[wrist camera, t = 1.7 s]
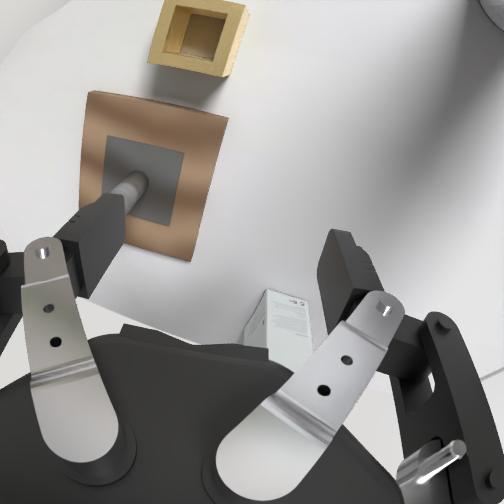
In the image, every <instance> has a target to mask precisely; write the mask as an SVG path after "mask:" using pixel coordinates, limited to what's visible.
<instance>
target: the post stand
mask: <svg viewBox="0 0 504 504" xmlns="http://www.w3.org/2000/svg"><path fill="white" fill-rule="evenodd" d="M228 119H229V118H227V117H223V116H219V115H215V114H211V113H207V112H203V111H199V110H195V109H191V108H187V107H182V106H178V105H173V104H168V103H164V102H159V101H154V100H149V99H143V98H138V97H132V96H127V95H120V94H114V93H108V92H101V91H91V92H88V96H87V103H86V111H85V119H84V128H83V138H82V150H81V164H80V186H79V210H80V209H81V208H82V207H84V206H86V205H88V204H90V203H94V202H95V201H96V200H97V199H98V198H99V197H100V196H101V195H102V194H103V193H105V192H106V193H114V194H122V195H123V196H124V200H125V228H126V232H125V239H124V242H123V243H127V244H130V245H133V246H137V247H140V248H144V249H147V250H151V251H154V252H158V253H161V254H165V255H168V256H172V257H175V258H179V259H182V260H186V261H189V262H191V259H192V256H193V252H194V248H195V244H196V240H197V235H198V231H199V227H200V223H201V219H202V215H203V211H204V207H205V203H206V199H207V195H208V191H209V187H210V184H211V180H212V176H213V172H214V169H215V165H216V161H217V157H218V154H219V150H220V147H221V143H222V140H223V136H224V133H225V129H226V126H227V122H228Z"/></svg>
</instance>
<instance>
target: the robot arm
mask: <svg viewBox="0 0 504 504" xmlns="http://www.w3.org/2000/svg"><path fill="white" fill-rule="evenodd" d="M479 1H480V3H481V5H482V7H483V9H484V10H485V12H486V14H487V15H488V16H489V18H490V19H491V20H492V21H493V22H494V23H495V24H496V25H497V26H498V27H499V28H500V29H501V30H503V31H504V0H479ZM125 232H126V228H125V200H124V196H123V195H122V194H114V193H106V192H105V193H103V194H102V195H101V196H100V197H99V198H98V199H97V200H96V201H95V202H94V203H90V204H88V205H86V206H84V207H82V208H81V209H80V210H79V211H78V212H77V213H76V214H75V215H74V216H73V217H72V218H71V219H70V220H69V222H67V223H66V224H65V225H64V226H63V227H62V228H61V229H60V230H59V231H58V232H57V233H56V234H55V235H54V236H53V237H43V238H39V239H36V240H34V241H32V242H31V243H30V244H28V245H27V247H26V248H25V250H24V252H15V253H8V250H7V246H6V243H5V242H4V241H3V240H0V356H1V354H2V352H3V350H4V348H5V346H6V345H7V343H8V341H9V339H10V337H11V335H12V334H13V332H14V330H15V328H16V327H17V325H18V323H19V322H20V320H21V318H22V316H23V321H24V331H25V339H26V346H27V353H28V359H29V365H30V371H31V372H30V373H28V374H26V375H25V376H23V377H21V378H19V379H17V380H16V381H14V382H12V383H10V384H9V385H7V386H5V387H4V388H2V389H0V504H498V503H500V502H501V501H502V500H503V499H504V454H503V450H502V447H501V443H500V440H499V436H498V432H497V429H496V425H495V422H494V419H493V416H492V413H491V410H490V407H489V404H488V401H487V398H486V395H485V392H484V390H483V387H482V384H481V382H480V379H479V376H478V374H477V371H476V369H475V366H474V364H473V361H472V359H471V356H470V354H469V352H468V349H467V347H466V345H465V342H464V340H463V338H462V336H461V333H460V331H459V329H458V327H457V325H456V324H455V323H454V321H453V320H452V319H451V318H449V317H448V316H446V315H445V314H442V313H440V312H430V313H428V315H427V316H426V318H425V319H424V321H421V320H418V319H416V318H413V317H410V316H408V315H405V310H404V307H403V305H402V304H401V302H400V301H399V300H398V299H397V298H396V297H394V296H393V295H391V294H389V293H387V292H385V291H384V289H383V287H382V284H381V282H380V280H379V277H378V275H377V273H376V272H375V271H376V270H375V268H374V266H373V265H372V261H371V259H370V257H369V255H368V254H367V253H366V252H365V251H364V250H363V249H362V248H361V247H359V246H356V244H355V241H354V239H353V237H352V235H351V233H350V232H347V231H342V230H336V229H331V230H330V231H329V233H328V236H327V239H326V242H325V245H324V248H323V251H322V254H321V257H320V260H319V263H318V268H317V280H318V285H319V290H320V295H321V300H322V305H323V310H324V316H325V321H326V327H327V332H328V337H327V338H326V339H325V340H324V341H323V343H322V344H321V345H320V346H319V347H318V348H317V349H316V350H315V352H314V353H313V354H312V355H311V356H310V357H309V358H308V359H307V360H306V362H305V363H304V364H303V365H302V366H301V367H300V368H299V369H298V370H297V371H296V372H295V373H294V372H293V371H291V370H290V369H288V368H286V367H285V366H283V365H281V364H279V363H277V362H274V361H272V360H269V348H261V347H253V346H246V345H239V344H212V345H192V344H189V343H186V342H184V341H181V340H179V339H176V338H174V337H172V336H169V335H167V334H164V333H162V332H159V331H157V330H152V329H147V328H143V327H138V326H133V325H129V324H123V327H122V329H121V331H120V334H107V335H102V336H98V337H94V338H91V339H89V340H87V338H86V335H85V331H84V328H83V325H82V322H81V318H80V315H79V312H78V308H77V304H76V301H75V299H76V297H77V296H78V297H82V298H86V299H89V298H90V296H91V294H92V293H93V291H94V289H95V288H96V286H97V284H98V283H99V281H100V279H101V278H102V276H103V274H104V273H105V271H106V270H107V268H108V266H109V265H110V263H111V262H112V260H113V259H114V257H115V256H116V254H117V252H118V251H119V249H120V248H121V246H122V245H123V242H124V239H125ZM376 371H378V372H381V373H384V374H387V375H389V377H390V382H391V387H392V391H393V396H394V402H395V406H396V412H397V418H398V423H399V430H400V436H401V442H402V449H403V455H404V460H403V461H402V462H401V464H400V465H399V467H398V470H397V478H396V480H395V479H394V478H393V477H392V476H391V475H390V473H389V472H387V470H386V469H385V468H384V467H383V466H381V464H380V463H379V462H378V461H377V460H376V459H375V458H374V457H373V456H372V455H371V454H370V453H369V452H368V451H367V450H366V449H365V448H364V447H363V445H362V444H361V443H360V442H359V441H358V440H357V439H356V438H355V437H354V436H353V435H352V434H351V433H350V432H349V430H348V429H347V428H346V427H345V426H344V425H343V422H344V421H345V419H346V418H347V416H348V415H349V413H350V412H351V410H352V409H353V407H354V406H355V404H356V403H357V401H358V399H359V398H360V396H361V395H362V393H363V391H364V390H365V388H366V387H367V385H368V383H369V382H370V380H371V378H372V377H373V375H374V373H375V372H376ZM431 372H432V375H433V378H434V382H435V389H434V392H432V389H431V385H430V382H429V378H428V376H429V374H430V373H431Z"/></svg>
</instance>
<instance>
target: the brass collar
mask: <svg viewBox="0 0 504 504" xmlns="http://www.w3.org/2000/svg"><path fill="white" fill-rule="evenodd" d="M191 13H193V14H199V15H205V16H210V17H215V18H220V19H225V20H226V21H225V24H224V28H223V31H222V34H221V37H220V40H219V43H218V46H217V49H216V53H215V56H214V59H213V60H212V59H208V58H203V57H198V56H194V55H188V54H183V53H180V50H181V46H182V43H183V39H184V36H185V33H186V29H187V26H188V23H189V20H190V16H191ZM249 16H250V14H249V12H248V10H247V7H246V5H242V4H238V3H233V2H228V1H223V0H165V1H164V4H163V7H162V10H161V13H160V17H159V20H158V23H157V27H156V30H155V34H154V37H153V41H152V45H151V49H150V53H149V56H148V61H147V63H153V64H159V65H165V66H171V67H176V68H181V69H186V70H191V71H196V72H201V73H205V74H210V75H214V76H218V77H225V76H228V75H230V74H231V70H232V67H233V64H234V61H235V58H236V54H237V51H238V48H239V45H240V42H241V39H242V36H243V33H244V30H245V27H246V24H247V21H248V19H249Z"/></svg>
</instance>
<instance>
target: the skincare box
mask: <svg viewBox="0 0 504 504" xmlns="http://www.w3.org/2000/svg"><path fill="white" fill-rule="evenodd" d="M243 345H246V346H253V347H261V348H269V360H272V361H274V362H277V363H279V364H281V365H283V366H285V367H286V368H288V369H290V370H291V371H293V372H294V373H295V372H296V371H297V370H298V369H299V368H300V367H301V366H302V365H303V364H304V363H305V362H306V360H307V359H308V358H309V357H310V356H311V355H312V354H313V353H314V349H313V340H312V330H311V322H310V313H309V305H308V302H307V301H304V300H301V299H297V298H294V297H291V296H288V295H285V294H283V293H279V292H276V291H273V290H270V289H267V290H266V291H265V293H264V295H263V298H262V300H261V302H260V303H259V305H258V307H257V309H256V311H255V312H254V314H253V316H252V317H251V319H250V320H249V322H248V323H247V325H246V326H245V328H244V337H243Z"/></svg>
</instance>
